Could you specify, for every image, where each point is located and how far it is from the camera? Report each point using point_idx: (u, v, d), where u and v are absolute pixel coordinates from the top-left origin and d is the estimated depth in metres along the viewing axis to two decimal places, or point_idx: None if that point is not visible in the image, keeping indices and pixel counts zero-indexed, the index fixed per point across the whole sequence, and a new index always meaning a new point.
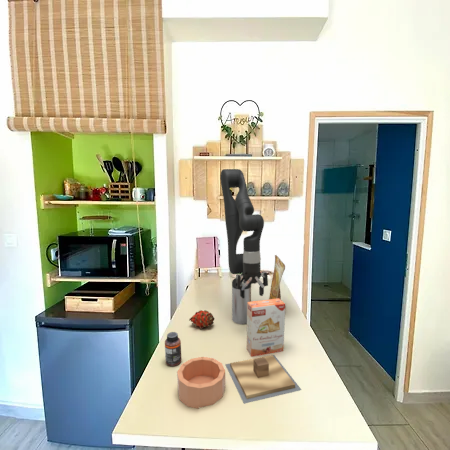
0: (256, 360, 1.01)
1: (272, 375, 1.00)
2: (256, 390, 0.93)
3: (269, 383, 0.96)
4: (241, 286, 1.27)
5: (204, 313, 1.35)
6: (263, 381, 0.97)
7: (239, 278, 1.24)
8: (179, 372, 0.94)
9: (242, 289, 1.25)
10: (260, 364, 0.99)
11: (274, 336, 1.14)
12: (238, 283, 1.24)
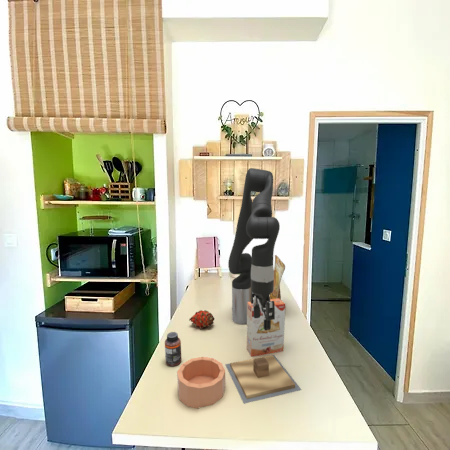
0: (256, 360, 1.01)
1: (272, 375, 1.00)
2: (256, 390, 0.93)
3: (269, 383, 0.96)
4: None
5: (204, 313, 1.35)
6: (263, 381, 0.97)
7: None
8: (179, 372, 0.94)
9: None
10: (260, 364, 0.99)
11: (274, 336, 1.14)
12: None
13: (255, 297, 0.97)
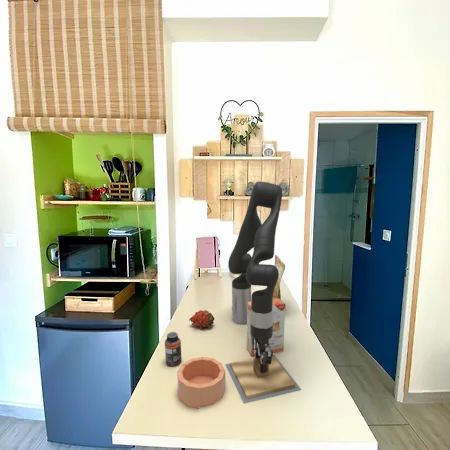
0: (256, 360, 1.01)
1: (272, 375, 1.00)
2: (256, 390, 0.93)
3: (269, 383, 0.96)
4: None
5: (204, 313, 1.35)
6: (263, 381, 0.97)
7: None
8: (179, 372, 0.94)
9: None
10: None
11: (274, 336, 1.14)
12: None
13: (254, 340, 1.00)
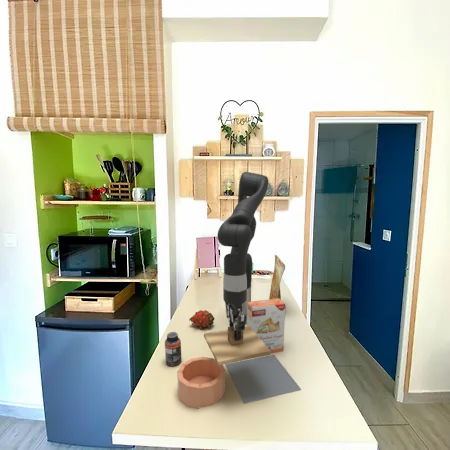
0: (230, 328, 0.96)
1: (247, 343, 0.95)
2: (228, 357, 0.87)
3: (243, 350, 0.91)
4: None
5: (204, 313, 1.35)
6: (237, 348, 0.92)
7: None
8: (179, 372, 0.94)
9: None
10: (233, 331, 0.93)
11: (274, 336, 1.14)
12: (244, 323, 0.90)
13: (228, 306, 0.94)
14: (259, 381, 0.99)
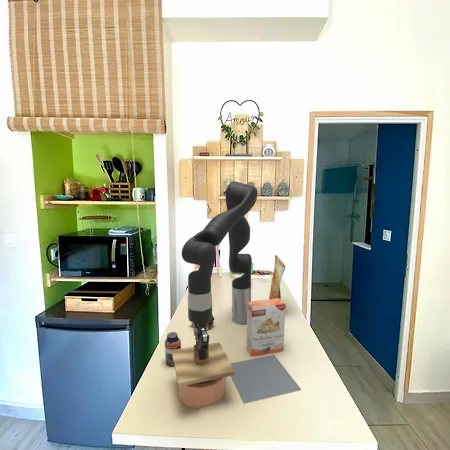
0: (196, 346, 0.94)
1: (213, 362, 0.93)
2: (190, 378, 0.86)
3: (207, 370, 0.89)
4: None
5: None
6: (201, 368, 0.90)
7: None
8: None
9: None
10: (198, 350, 0.91)
11: (274, 336, 1.14)
12: None
13: (193, 324, 0.92)
14: (259, 381, 0.99)
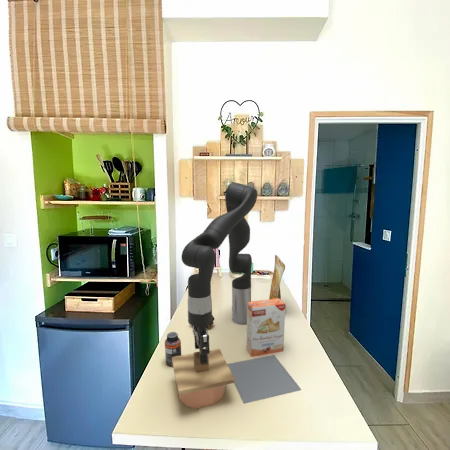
0: (196, 354, 0.94)
1: (213, 370, 0.93)
2: (190, 386, 0.86)
3: (207, 378, 0.89)
4: None
5: None
6: (201, 376, 0.90)
7: None
8: None
9: None
10: (198, 358, 0.92)
11: (274, 336, 1.14)
12: (208, 345, 0.87)
13: (193, 328, 0.93)
14: (259, 381, 0.99)
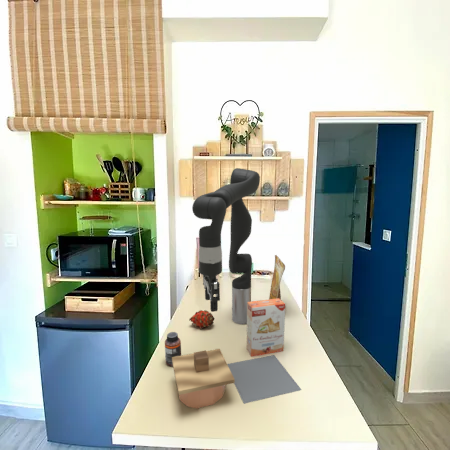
0: (196, 354, 0.94)
1: (213, 370, 0.93)
2: (190, 386, 0.86)
3: (207, 378, 0.89)
4: None
5: (204, 313, 1.35)
6: (201, 376, 0.90)
7: None
8: None
9: None
10: (198, 358, 0.92)
11: (274, 336, 1.14)
12: None
13: (204, 278, 0.96)
14: (259, 381, 0.99)
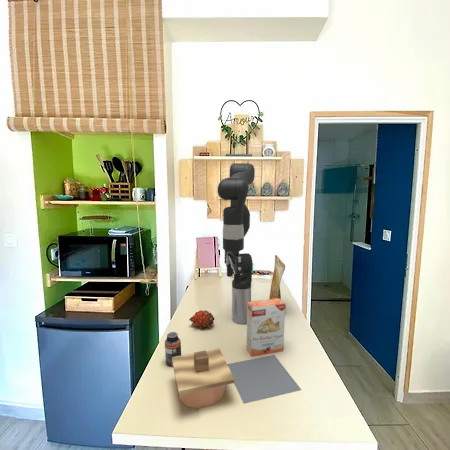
0: (196, 354, 0.94)
1: (213, 370, 0.93)
2: (190, 386, 0.86)
3: (207, 378, 0.89)
4: None
5: (204, 313, 1.35)
6: (201, 376, 0.90)
7: None
8: None
9: None
10: (198, 358, 0.92)
11: (274, 336, 1.14)
12: (242, 266, 0.99)
13: (227, 255, 1.05)
14: (259, 381, 0.99)
